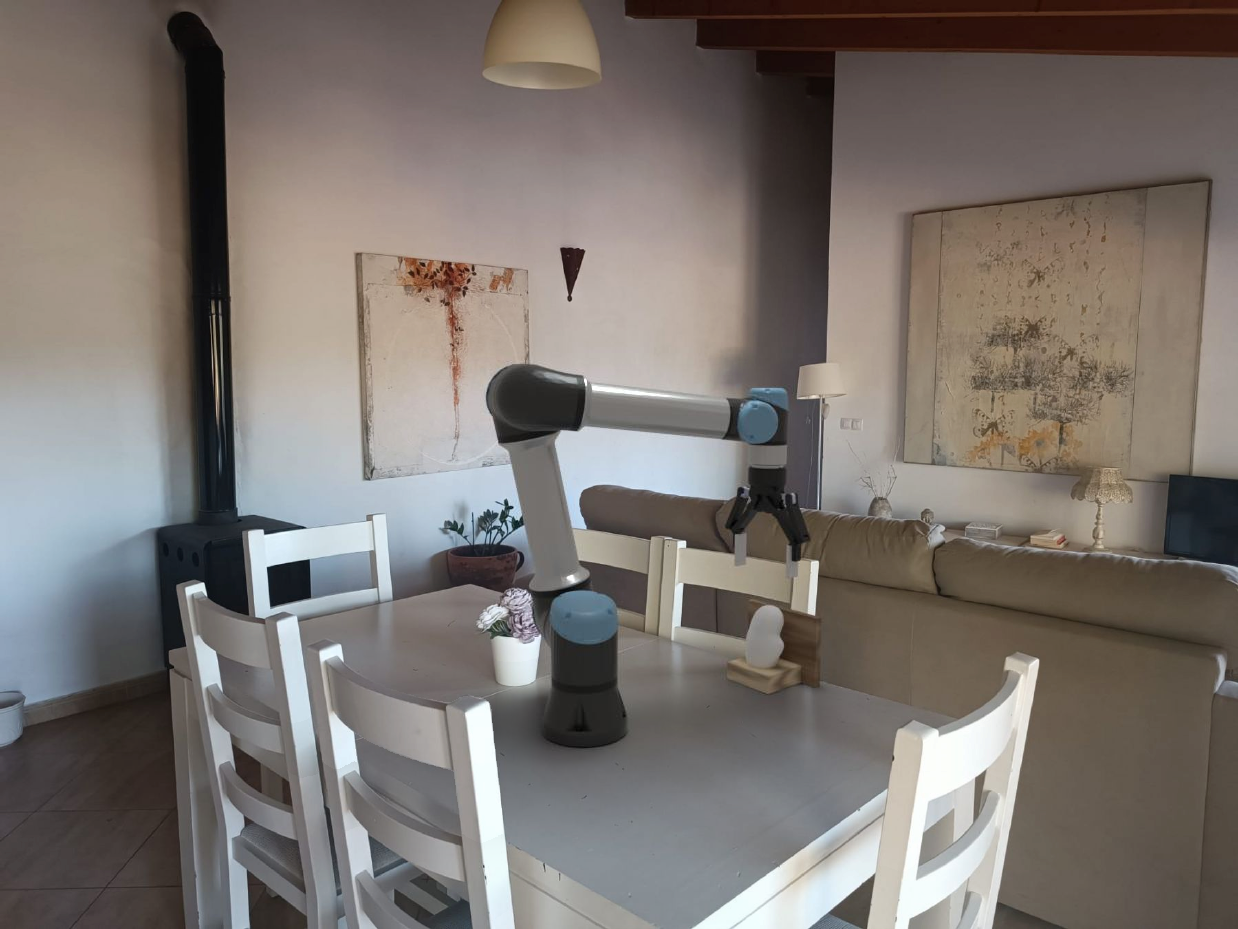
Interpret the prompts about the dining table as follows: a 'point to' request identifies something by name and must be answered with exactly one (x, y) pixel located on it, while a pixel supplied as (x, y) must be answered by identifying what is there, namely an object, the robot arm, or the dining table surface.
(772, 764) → the dining table surface
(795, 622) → the wall board
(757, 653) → the figurine
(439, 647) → the dining table surface
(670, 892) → the dining table surface
